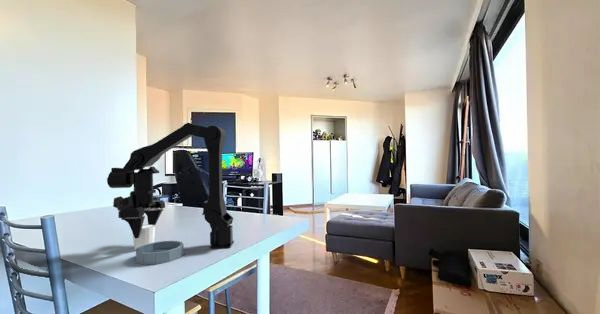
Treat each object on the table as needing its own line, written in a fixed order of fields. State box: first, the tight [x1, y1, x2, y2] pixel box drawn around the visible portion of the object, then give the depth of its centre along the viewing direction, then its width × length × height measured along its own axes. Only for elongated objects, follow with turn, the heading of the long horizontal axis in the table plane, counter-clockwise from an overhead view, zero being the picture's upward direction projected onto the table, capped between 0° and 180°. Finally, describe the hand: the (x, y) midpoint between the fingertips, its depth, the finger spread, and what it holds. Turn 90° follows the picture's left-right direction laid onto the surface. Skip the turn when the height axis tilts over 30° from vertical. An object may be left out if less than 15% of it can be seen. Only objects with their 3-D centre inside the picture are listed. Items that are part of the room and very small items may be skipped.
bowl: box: [135, 240, 185, 265], centre depth 87 cm, size 13×13×3 cm
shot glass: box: [132, 224, 156, 251], centre depth 97 cm, size 7×7×7 cm
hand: (144, 234), depth 97 cm, fingers open, 9 cm apart
